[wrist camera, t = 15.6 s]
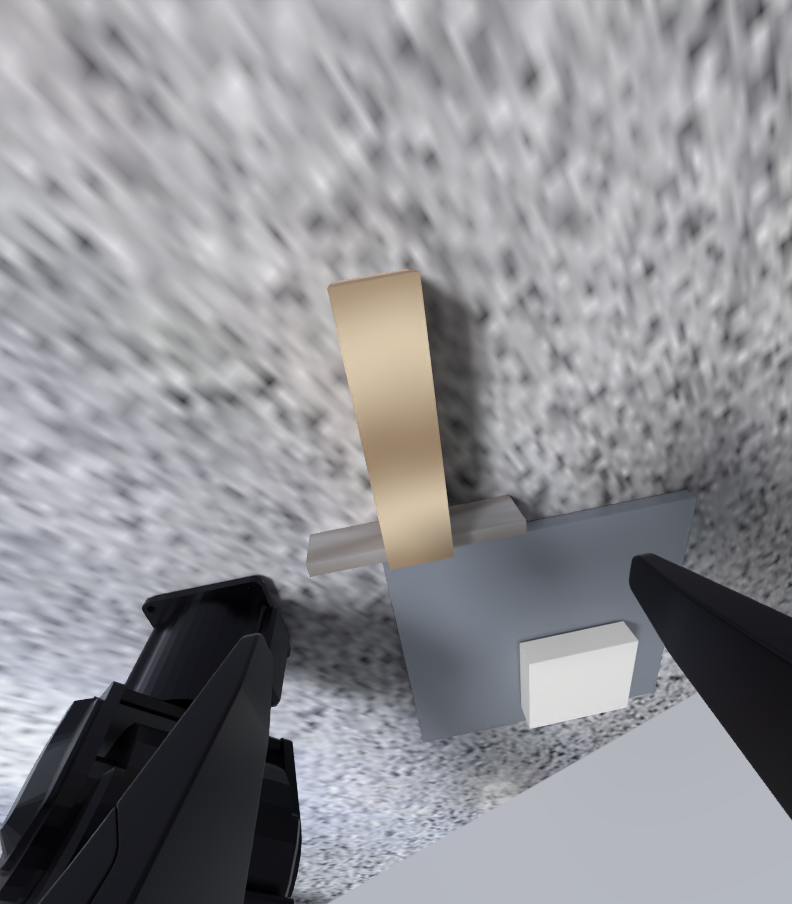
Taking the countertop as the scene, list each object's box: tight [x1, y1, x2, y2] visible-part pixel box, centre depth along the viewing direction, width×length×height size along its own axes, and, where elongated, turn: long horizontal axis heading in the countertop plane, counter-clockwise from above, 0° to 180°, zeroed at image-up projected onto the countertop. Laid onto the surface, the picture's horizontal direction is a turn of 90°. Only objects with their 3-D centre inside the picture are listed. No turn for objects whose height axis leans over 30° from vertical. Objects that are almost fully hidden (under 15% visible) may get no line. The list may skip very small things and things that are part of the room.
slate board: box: [383, 490, 698, 743], centre depth 26 cm, size 18×18×1 cm
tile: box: [520, 621, 638, 729], centre depth 27 cm, size 7×2×7 cm
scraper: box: [306, 269, 526, 577], centre depth 17 cm, size 13×11×4 cm
